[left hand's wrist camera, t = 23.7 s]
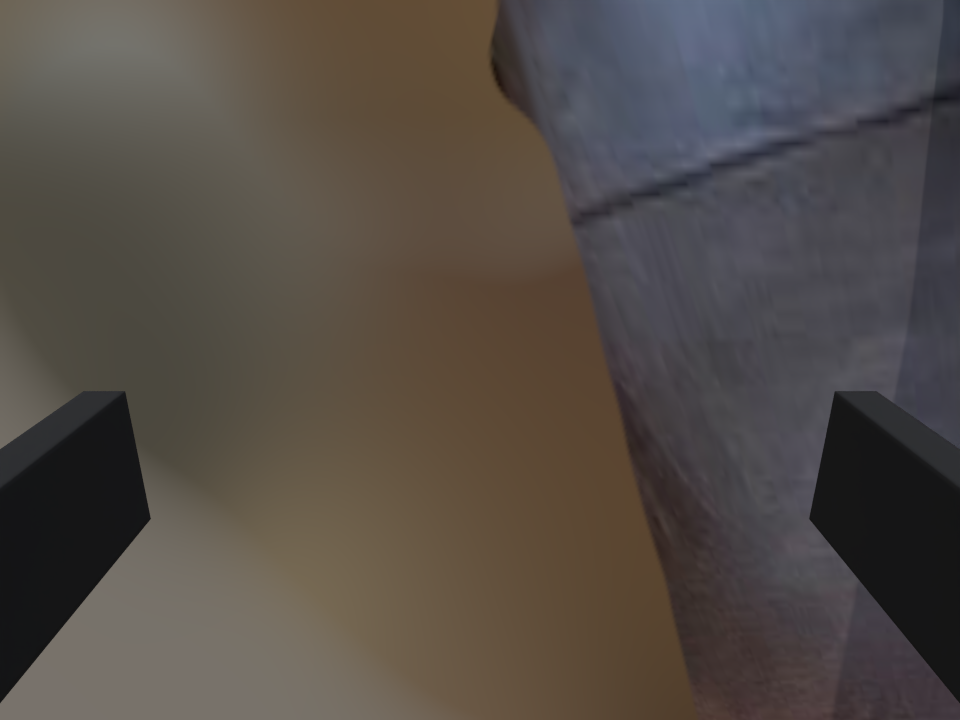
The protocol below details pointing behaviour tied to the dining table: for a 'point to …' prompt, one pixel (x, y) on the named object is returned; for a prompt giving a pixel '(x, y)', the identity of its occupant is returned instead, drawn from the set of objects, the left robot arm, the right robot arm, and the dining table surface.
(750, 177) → the dining table surface
